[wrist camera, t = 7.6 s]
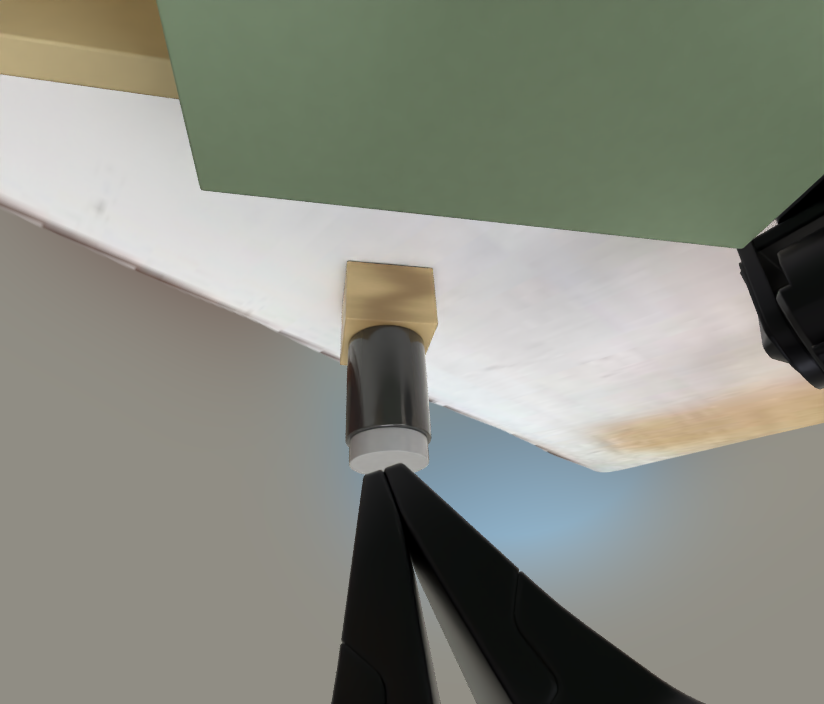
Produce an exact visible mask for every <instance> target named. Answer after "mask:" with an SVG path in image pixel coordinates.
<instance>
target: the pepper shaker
mask: <svg viewBox="0 0 824 704" xmlns="http://www.w3.org/2000/svg"><path fill="white" fill-rule="evenodd" d="M430 441H431V427H430V412H429V399H428V386H427V372H426V359H425V346H424V341H423V339H422V337H421V336H420V335H419V334H418V333H416V332H415V331H413V330H411V329H408V328H405V327H402V326H396V325H379V326H373V327H369V328H366V329H363V330H361V331H359V332H357V333H356V334H355V335H353V336H352V338H351V339H350V341H349V343H348V360H347V405H346V444H347V446H348V447H349V466H350V468H351V469H352V470H354V471H356V472H358V473H361V474H368V473H371V472H374V471H377V470H383V471H384V469H385V468H386V467H389V466H392V465H394V464H397V463H403V464H405V465H406V466H407V467H408V468H409V469H410V470H411V471H412V472H413V473H414V472H417V471H419V470H422V469H423V468H425V467H426V466H427V465H428V464H429V453H428V444H429V443H430Z"/></svg>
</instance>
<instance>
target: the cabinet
mask: <svg viewBox="0 0 824 704" xmlns="http://www.w3.org/2000/svg"><path fill="white" fill-rule="evenodd" d="M156 3H157V7H158V11H159V16H160V20H161V24H162V28H163V33H164V37H165V41H166V45H167V50H168V54H169V58H170V62H171V67H172V71H173V75H174V79H175V83H176V88H177V92H178V96H179V100H180V105H181V109H182V113H183V117H184V122H185V126H186V130H187V134H188V139H189V143H190V147H191V151H192V156H193V160H194V164H195V168H196V172H197V177H198V181H199V185H200V189H201V190H204V191H213V192H222V193H231V194H241V195H250V196H259V197H268V198H277V199H287V200H296V201H305V202H314V203H323V204H333V205H342V206H351V207H360V208H369V209H379V210H388V211H397V212H406V213H415V214H424V215H434V216H443V217H452V218H461V219H470V220H480V221H489V222H498V223H507V224H516V225H526V226H535V227H544V228H553V229H562V230H572V231H581V232H590V233H599V234H608V235H618V236H627V237H636V238H645V239H654V240H664V241H673V242H682V243H691V244H700V245H709V246H719V247H728V248H737V249H742V248H744V247H745V246H746V245H747V244H748V243H749V242H750V241H751V240H753V239H754V238H755V237H756V236H757V235H758V234H759V233H760V232H761V231H762V230H764V229H765V228H766V227H767V226H768V225H769V224H770V223H771V222H772V221H773V220H774V219H776V218H777V217H778V216H779V215H780V214H781V213H782V212H783V211H784V210H785V209H787V208H788V207H789V206H790V205H791V204H792V203H793V202H794V201H795V200H796V199H797V198H799V197H800V196H801V195H802V194H803V193H804V192H805V191H806V190H807V189H808V188H810V187H811V186H812V185H813V184H814V183H815V182H816V181H817V180H818V179H819V178H820V177H822V176H823V175H824V0H156Z"/></svg>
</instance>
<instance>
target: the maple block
mask: <svg viewBox="0 0 824 704" xmlns="http://www.w3.org/2000/svg"><path fill="white" fill-rule="evenodd" d="M379 325H396V326H402V327H405V328H408V329H411V330H413V331H415V332H416V333H418V334H419V335H420V336H421V337H422V339H423V341H424V346H425V355H426V352H427V350H428V347H429V345H430V342H431V340H432V337H433V335H434V332H435V330H436V328H437V325H438V319H437V309H436V298H435V288H434V277H433V269H432V268H420V267H409V266H397V265H386V264H375V263H363V262H352V261H348V262H347V267H346V277H345V287H344V297H343V307H342V324H341V354H340V365H347V360H348V343H349V341H350V339H351V338H352V336H353V335H355V334H356V333H357V332H359V331H361V330H363V329H366V328H369V327H373V326H379Z"/></svg>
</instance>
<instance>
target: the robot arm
mask: <svg viewBox="0 0 824 704" xmlns="http://www.w3.org/2000/svg"><path fill="white" fill-rule="evenodd" d="M775 220H776V222H777V223H778V225H776V226H774V227H773V228H771V229H769V230H767V231H766V232H764V233H762V234H760V235H759V236H757V237H755V238H754V239H753V240H751V241H750V242H749V243H748V244H747V245H746V246H745V247H744V248H742V249H737V251H738V253H739V256H740V259H741V261H742V262H741V263H739V266H740V269H741V272H740V274H741V276H742V278H743V279H744V281H745V283H746V285H747V288H748V290H749V293H750V295H751V298H752V301H753V303H754V306H755V309H756V311H757V314H758V319H759V325H760V331H761V338H762V344H763V347H764V349H765V351H766V353H767V354H768V355H769V356H770V357H771V358H772V359H775V360H779V361H783V362H786V363H789V364H790V365H791V366H792V367H793V368H794V369H795V370H796V371H798V372H799V373H800V374H801V375H802V376H803V377H804V378H805V379H806V380H807V381H808V382H809V383H810V384H811V385H813V386H814V387H815V388H818V389H822V388H824V175H823V176H822V177H820V178H819V179H818V180H817V181H816V182H815V183H814V184H813V185H812V186H811V187H810V188H808V189H807V190H806V191H805V192H804V193H803V194H802V195H801V196H800V197H799V198H797V199H796V200H795V201H794V202H793V203H792V204H791V205H790V206H789V207H788V208H787V209H785V210H784V211H783V212H782V213H781V214H780V215H779V216H778V217H777V218H776V219H775ZM412 564H413V565H412ZM413 567H414V569H415V572H416V574H417V577H418V579H419V581H420V583H421V586H422V588H423V590H424V592H425V594H426V596H427V598H428V600H429V602H430V605H431V607H432V609H433V611H434V613H435V615H436V618H437V620H438V622H439V624H440V626H441V628H442V630H443V632H444V634H445V637H446V639H447V641H448V643H449V645H450V647H451V649H452V652H453V654H454V656H455V658H456V660H457V662H458V664H459V667H460V669H461V671H462V673H463V675H464V677H465V680H466V682H467V684H468V686H469V688H470V690H471V692H472V695H473V697H474V699H475V701H476V703H477V704H705V703H702V702H700V701H698V700H696V699H694V698H692V697H690V696H688V695H686V694H684V693H682V692H681V691H679V690H677V689H676V688H674V687H672V686H671V685H669V684H668V683H666V682H664V681H663V680H661V679H660V678H658V677H657V676H656V675H654V674H653V673H651V672H650V671H649V670H647V669H646V668H645V667H643V666H642V665H640V664H639V663H638V662H636V661H635V660H633V659H632V658H631V657H629V656H628V655H626V654H625V653H624V652H622V651H621V650H620V649H618V648H617V647H616V646H614V645H613V644H611V643H610V642H609V641H607V640H606V639H605V638H603V637H602V636H601V635H599V634H598V633H596V632H595V631H594V630H592V629H591V628H590V627H588V626H587V625H585V624H584V623H583V622H581V621H580V620H579V619H578V618H576V617H575V616H574V615H572V614H571V613H570V612H569V611H567V610H566V609H565V608H563V607H562V606H561V605H559V604H558V603H557V602H556V601H555V600H554V599H553V598H551V597H550V596H549V595H548V594H547V593H545V592H544V591H543V590H542V589H541V588H540V587H539V586H537V585H536V584H535V583H534V582H533V581H532V580H531V579H530V578H529V577H528V576H526V575H525V574H524V573H523V572H519V569H518V568H517V567H516V566H515V565H514V564H513V563H512V562H511V561H510V560H509V559H508V558H506V557H505V556H504V555H503V554H502V553H501V552H500V551H499V550H498V549H497V548H496V547H494V546H493V545H492V544H491V543H490V542H489V541H488V540H487V539H486V538H485V537H483V536H482V535H481V534H480V533H479V532H478V531H477V530H476V529H475V528H473V526H471V525H470V524H469V523H468V522H467V521H466V520H465V519H464V518H463V517H462V516H460V515H459V514H458V513H457V512H456V511H455V510H454V509H453V508H452V507H451V506H450V505H449V504H447V503H446V502H445V501H444V500H443V499H442V498H441V497H440V496H439V495H438V494H436V493H435V492H434V491H433V490H432V489H431V488H430V487H429V486H428V485H427V484H425V483H424V482H423V481H422V480H421V479H420V478H419V477H418V476H417V475H416V474H414V473H413V472H412V471H411V470H410V469H409V468H408V467H407V466H406V465H405V464H403V463H397V464H394V465H392V466H389V467H386V468H385V469H384V471H383V470H377V471H374V472H371V473H368V474H366V475H365V476H364V478H363V484H362V491H361V498H360V506H359V513H358V520H357V528H356V536H355V543H354V550H353V557H352V565H351V572H350V579H349V587H348V595H347V602H346V610H345V616H344V624H343V631H342V638H341V640H342V644H341V645H340V651H339V659H338V666H337V672H336V678H335V685H334V690H333V697H332V702H331V704H441V702H440V697H439V692H438V688H437V682H436V678H435V672H434V668H433V663H432V657H431V652H430V647H429V642H428V637H427V632H426V627H425V622H424V617H423V612H422V607H421V602H420V597H419V592H418V587H417V582H416V578H415V574H414V569H413Z"/></svg>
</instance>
